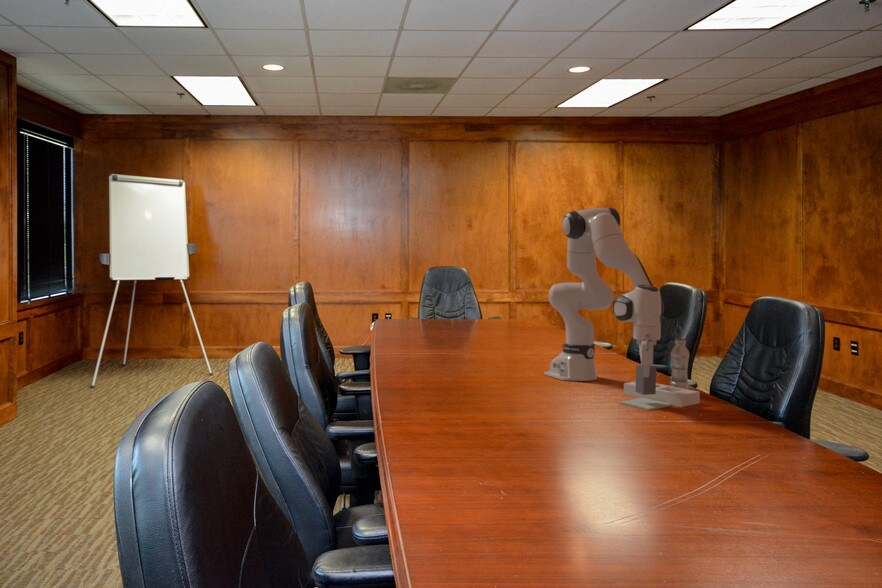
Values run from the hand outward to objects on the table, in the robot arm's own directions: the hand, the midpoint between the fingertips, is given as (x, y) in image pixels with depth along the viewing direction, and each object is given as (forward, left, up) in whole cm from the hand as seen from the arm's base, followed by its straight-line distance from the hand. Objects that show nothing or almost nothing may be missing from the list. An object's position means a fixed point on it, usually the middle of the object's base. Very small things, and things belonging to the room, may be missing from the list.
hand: (645, 374), depth 222 cm
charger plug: (0, 0, -6) cm, 6 cm away
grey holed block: (-3, +12, -10) cm, 16 cm away
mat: (0, 0, -10) cm, 10 cm away
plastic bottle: (-4, +24, -10) cm, 27 cm away
